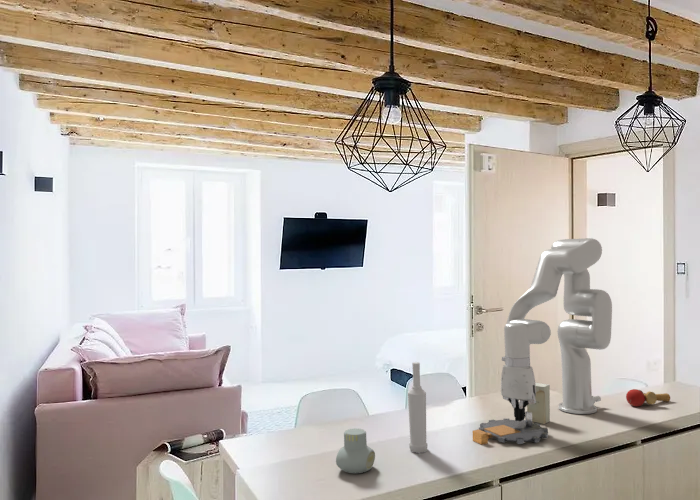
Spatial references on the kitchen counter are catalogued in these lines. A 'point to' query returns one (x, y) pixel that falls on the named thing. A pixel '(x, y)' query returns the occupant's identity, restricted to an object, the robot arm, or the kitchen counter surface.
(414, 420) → the bottle
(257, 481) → the kitchen counter surface
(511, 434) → the sprocket wheel
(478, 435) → the wooden block
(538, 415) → the skincare box
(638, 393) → the kendama
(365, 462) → the air freshener
